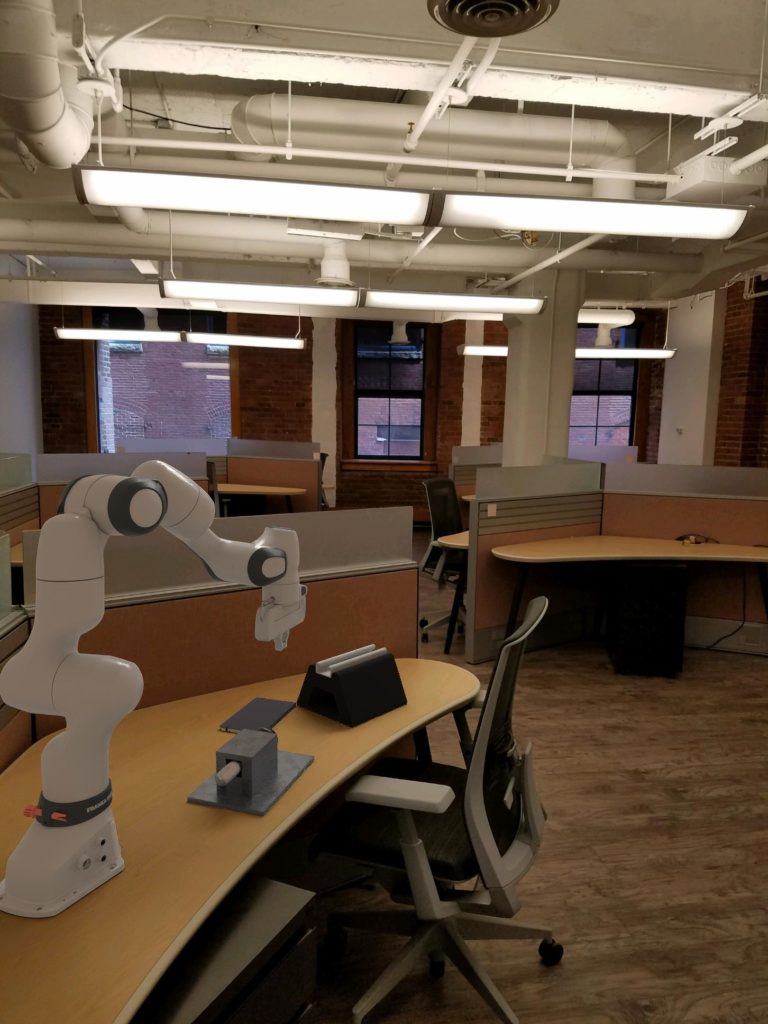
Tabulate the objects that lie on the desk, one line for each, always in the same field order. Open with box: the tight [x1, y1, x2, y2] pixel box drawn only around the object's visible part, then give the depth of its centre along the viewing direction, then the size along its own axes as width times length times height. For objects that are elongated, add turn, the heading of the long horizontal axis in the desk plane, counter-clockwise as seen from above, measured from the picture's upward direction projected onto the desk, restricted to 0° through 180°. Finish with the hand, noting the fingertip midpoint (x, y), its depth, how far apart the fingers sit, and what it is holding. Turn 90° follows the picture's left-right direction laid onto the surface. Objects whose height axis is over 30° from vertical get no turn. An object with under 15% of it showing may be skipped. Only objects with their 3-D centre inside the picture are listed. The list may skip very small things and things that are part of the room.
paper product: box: [219, 697, 297, 734], centre depth 194 cm, size 13×2×21 cm
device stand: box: [296, 643, 408, 729], centre depth 202 cm, size 22×22×15 cm
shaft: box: [215, 726, 279, 786], centre depth 155 cm, size 20×6×6 cm, turn 162°
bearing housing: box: [186, 729, 315, 817], centre depth 159 cm, size 26×18×10 cm
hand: (281, 649), depth 171 cm, fingers closed
